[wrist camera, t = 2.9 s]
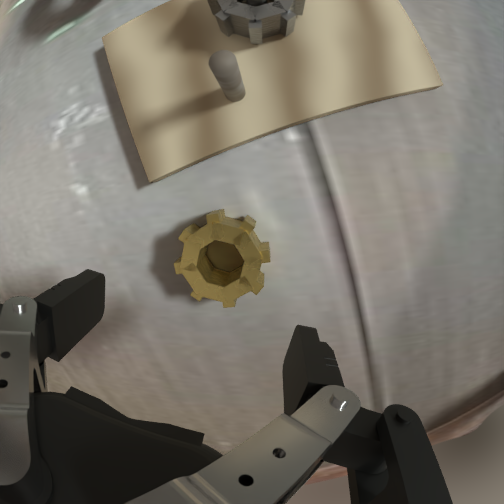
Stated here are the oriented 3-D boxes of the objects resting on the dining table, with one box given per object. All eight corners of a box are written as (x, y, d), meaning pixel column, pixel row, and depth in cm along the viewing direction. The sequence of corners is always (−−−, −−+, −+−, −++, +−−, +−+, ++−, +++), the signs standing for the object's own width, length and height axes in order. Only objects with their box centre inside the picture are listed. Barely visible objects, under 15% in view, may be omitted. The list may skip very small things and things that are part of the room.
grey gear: (232, 55, 18) (226, 37, 14) (204, -2, 16) (195, -23, 13) (314, 31, 17) (321, 11, 14) (280, -24, 15) (281, -46, 12)
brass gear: (214, 304, 24) (207, 322, 21) (171, 238, 23) (156, 247, 19) (283, 266, 23) (286, 280, 20) (240, 194, 22) (235, 197, 18)
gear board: (156, 181, 22) (108, 186, 14) (109, 43, 19) (63, 10, 11) (434, 89, 18) (486, 66, 11) (361, -36, 15) (383, -81, 8)
